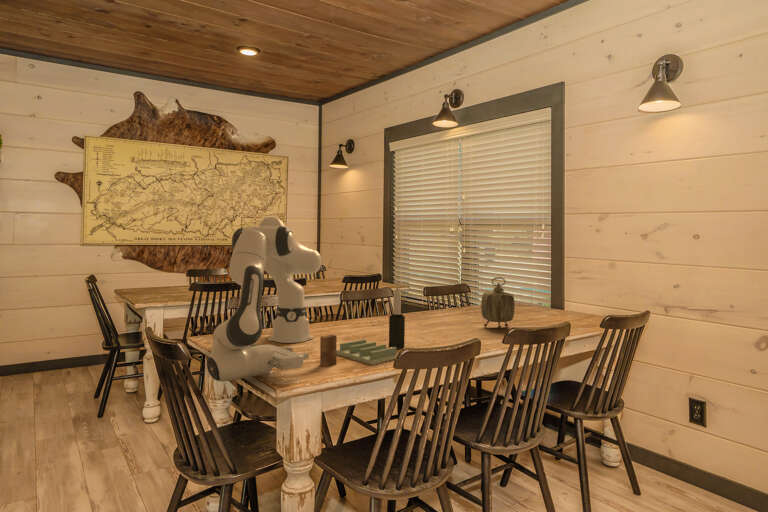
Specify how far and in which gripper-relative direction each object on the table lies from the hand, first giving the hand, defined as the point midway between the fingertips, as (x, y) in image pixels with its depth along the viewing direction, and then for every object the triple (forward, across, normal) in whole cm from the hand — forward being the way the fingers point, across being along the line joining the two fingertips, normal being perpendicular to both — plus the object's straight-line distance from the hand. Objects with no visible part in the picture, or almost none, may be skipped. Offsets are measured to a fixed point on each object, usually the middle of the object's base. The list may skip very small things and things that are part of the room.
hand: (299, 352), depth 159 cm
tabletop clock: (+114, +1, +6) cm, 114 cm away
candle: (+48, +3, +6) cm, 48 cm away
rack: (+30, 0, +6) cm, 30 cm away
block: (+12, 0, +6) cm, 13 cm away
